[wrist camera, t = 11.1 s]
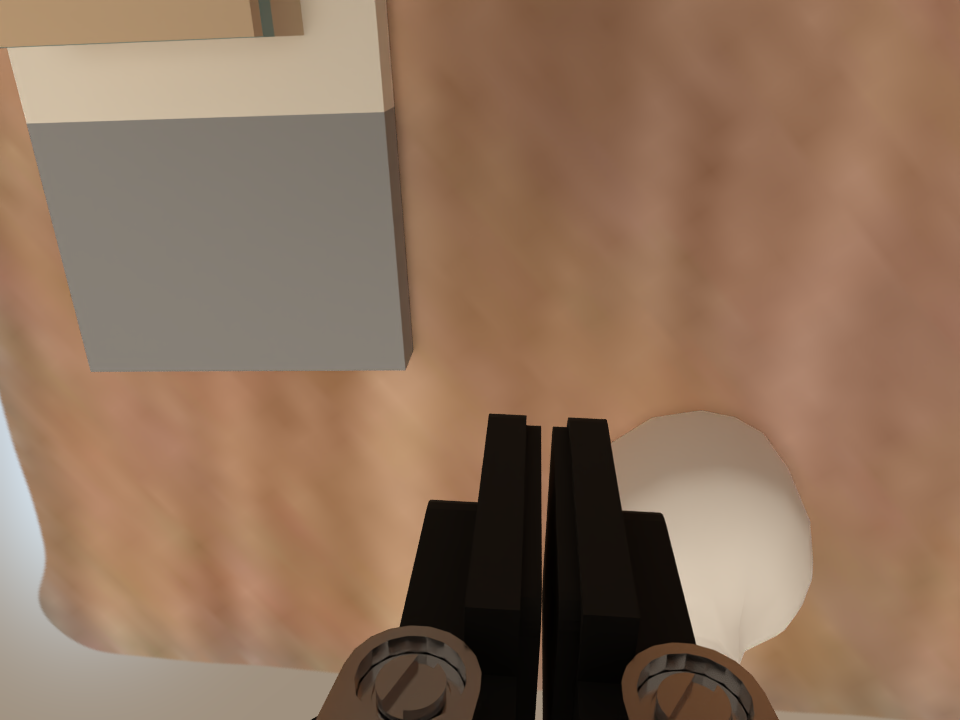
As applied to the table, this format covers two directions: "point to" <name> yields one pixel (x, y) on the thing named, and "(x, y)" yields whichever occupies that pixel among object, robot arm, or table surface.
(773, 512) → the teardrop
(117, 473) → the table surface
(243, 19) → the carton
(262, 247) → the grey and cream slab
